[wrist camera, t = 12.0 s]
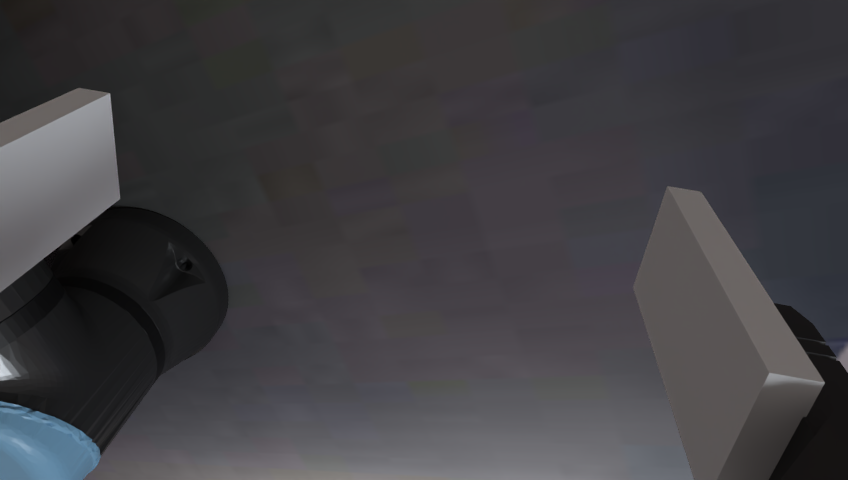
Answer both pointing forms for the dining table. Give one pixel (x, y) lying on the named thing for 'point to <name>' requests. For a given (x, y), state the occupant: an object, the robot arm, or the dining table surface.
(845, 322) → the dining table surface
